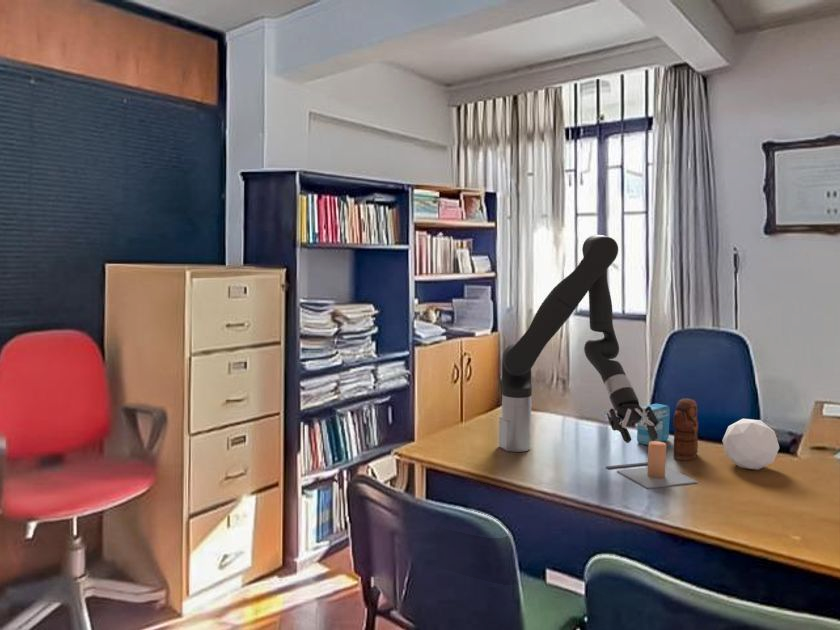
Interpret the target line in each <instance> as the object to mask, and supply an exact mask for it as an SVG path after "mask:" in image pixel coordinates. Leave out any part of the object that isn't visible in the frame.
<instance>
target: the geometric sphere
mask: <svg viewBox="0 0 840 630" xmlns="http://www.w3.org/2000/svg"><path fill="white" fill-rule="evenodd" d="M722 444H723V448H724V452H725V456H726V457H727V458H728V459H729V460H731V461H732V463H734V464H735V465H737V466H738V467H739V468H741V469H749V470H757V471H758V470H761V469H762V468H765V467H767V466H768V465H770V464H772V463H774V460H775V458H776V456H777V454H778V452H779V450H780V445H779V442H778V438H777V435H776V432H775V430H773V429H772V428H771V427H770V426H768V425H767V424H766V423H764V422H763V421H762V420H761V419H751V418H741V419H739V420H738V421H735V422H734V423H732V424H730V425H728V426H727V429H726V431H725V434H724V435H723V438H722Z"/></svg>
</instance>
